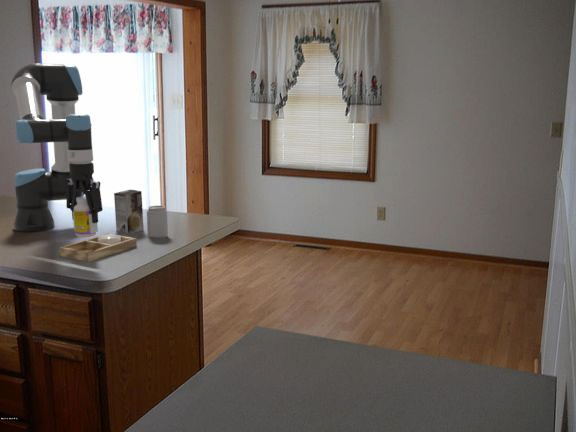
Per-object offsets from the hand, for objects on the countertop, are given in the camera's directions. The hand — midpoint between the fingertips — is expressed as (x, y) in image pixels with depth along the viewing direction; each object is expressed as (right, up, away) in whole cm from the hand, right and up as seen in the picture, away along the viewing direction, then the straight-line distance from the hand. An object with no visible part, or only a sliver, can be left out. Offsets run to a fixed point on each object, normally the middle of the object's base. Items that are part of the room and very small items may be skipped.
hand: (85, 230), depth 200 cm
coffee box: (+5, -2, +36) cm, 37 cm away
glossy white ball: (+5, -6, +11) cm, 13 cm away
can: (+18, -3, +28) cm, 34 cm away
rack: (+2, -8, +7) cm, 11 cm away
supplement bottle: (0, -2, 0) cm, 2 cm away
